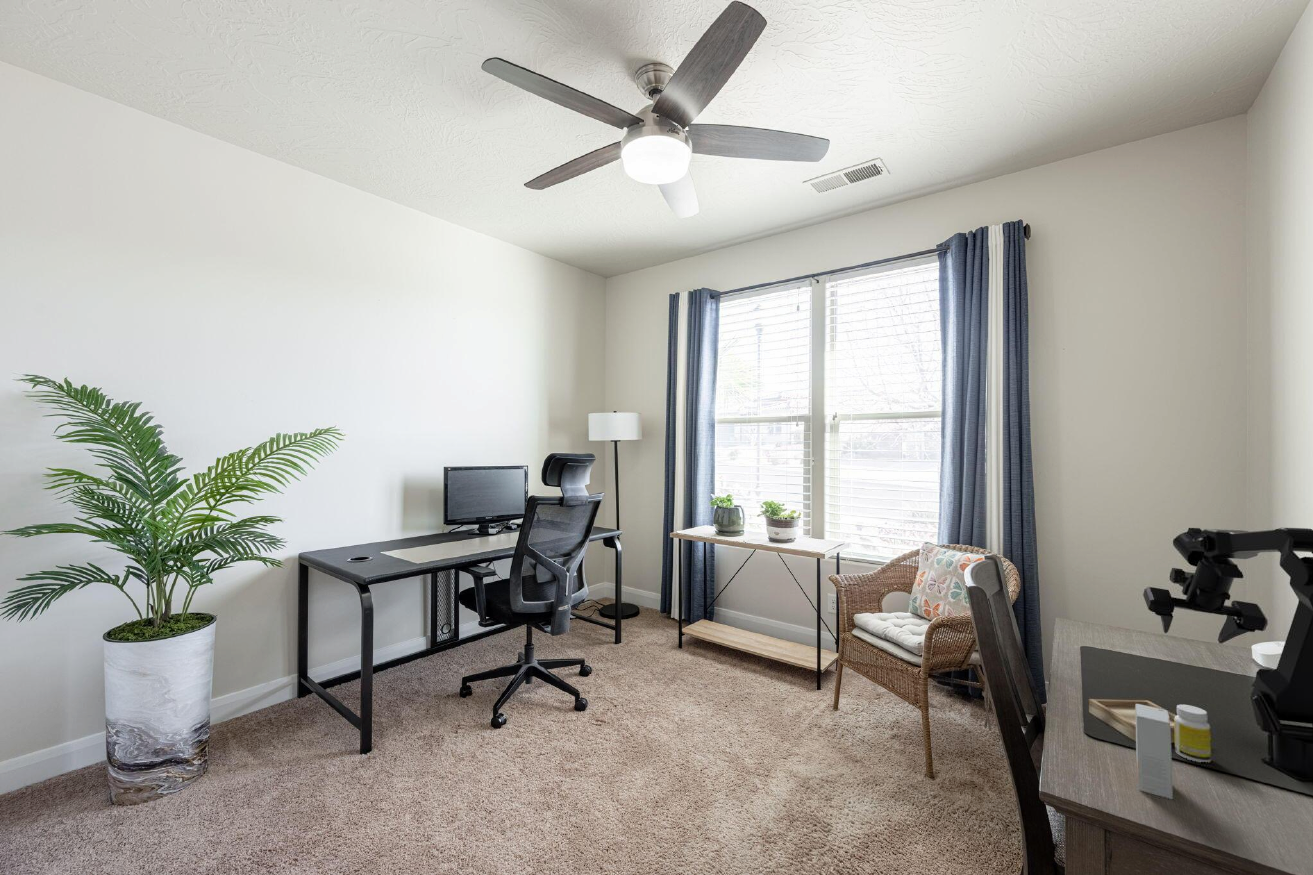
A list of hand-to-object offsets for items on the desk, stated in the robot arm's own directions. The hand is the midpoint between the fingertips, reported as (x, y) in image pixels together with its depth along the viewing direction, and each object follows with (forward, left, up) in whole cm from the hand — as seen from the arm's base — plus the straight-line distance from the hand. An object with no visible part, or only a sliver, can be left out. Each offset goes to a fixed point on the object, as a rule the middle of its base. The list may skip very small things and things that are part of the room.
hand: (1191, 636), depth 124 cm
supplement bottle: (-24, +21, -14) cm, 35 cm away
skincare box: (-34, +36, -14) cm, 52 cm away
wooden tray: (-13, +21, -15) cm, 29 cm away
